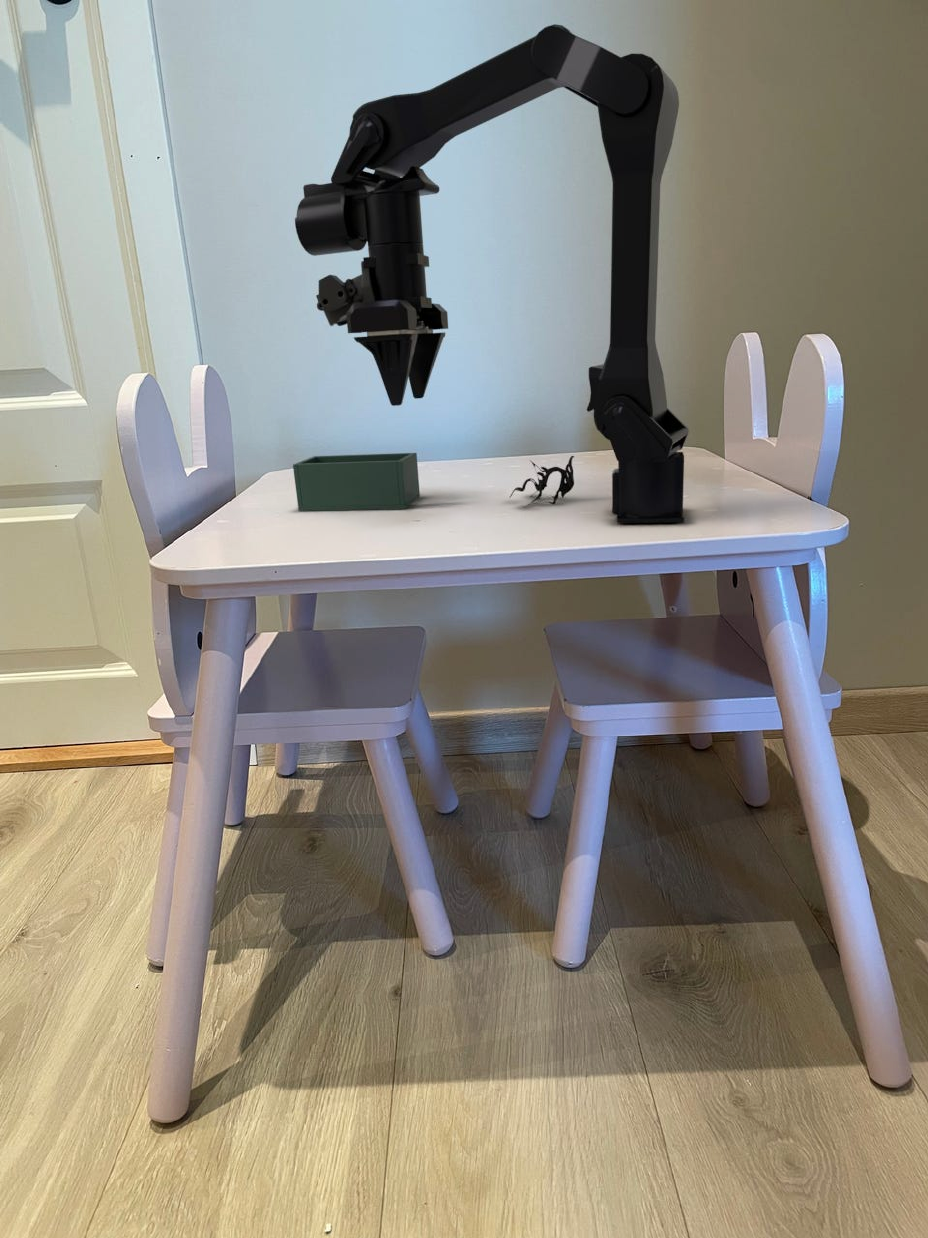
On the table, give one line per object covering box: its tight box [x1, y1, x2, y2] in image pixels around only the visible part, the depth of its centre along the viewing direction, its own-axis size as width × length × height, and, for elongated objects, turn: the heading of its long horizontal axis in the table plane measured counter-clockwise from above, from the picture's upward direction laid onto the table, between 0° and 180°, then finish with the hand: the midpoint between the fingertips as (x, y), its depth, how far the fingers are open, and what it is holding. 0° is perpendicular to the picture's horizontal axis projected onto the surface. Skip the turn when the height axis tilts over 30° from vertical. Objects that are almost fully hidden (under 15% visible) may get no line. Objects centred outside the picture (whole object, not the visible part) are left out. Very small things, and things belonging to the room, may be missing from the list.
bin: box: [292, 452, 421, 512], centre depth 99 cm, size 13×7×6 cm, turn 79°
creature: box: [509, 455, 575, 509], centre depth 94 cm, size 8×5×8 cm
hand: (408, 401), depth 91 cm, fingers open, 9 cm apart
